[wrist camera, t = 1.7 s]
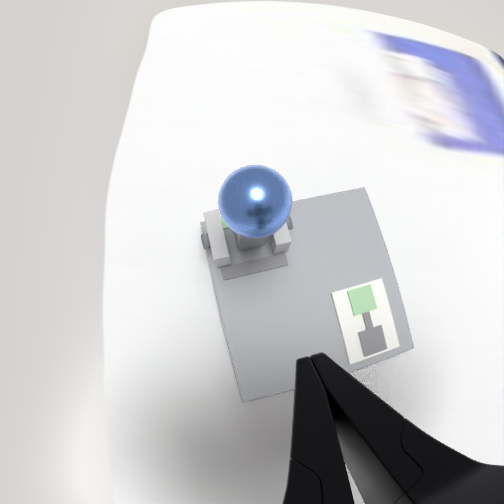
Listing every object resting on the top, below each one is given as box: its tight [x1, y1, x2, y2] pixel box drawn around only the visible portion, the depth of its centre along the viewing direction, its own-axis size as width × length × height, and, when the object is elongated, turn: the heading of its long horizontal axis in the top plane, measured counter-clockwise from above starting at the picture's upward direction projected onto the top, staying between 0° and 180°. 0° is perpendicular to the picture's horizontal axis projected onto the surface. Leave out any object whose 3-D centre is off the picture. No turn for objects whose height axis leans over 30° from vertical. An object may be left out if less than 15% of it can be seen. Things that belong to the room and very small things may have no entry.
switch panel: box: [200, 187, 414, 402], centre depth 21 cm, size 13×13×4 cm
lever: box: [218, 165, 292, 252], centre depth 17 cm, size 3×3×10 cm
